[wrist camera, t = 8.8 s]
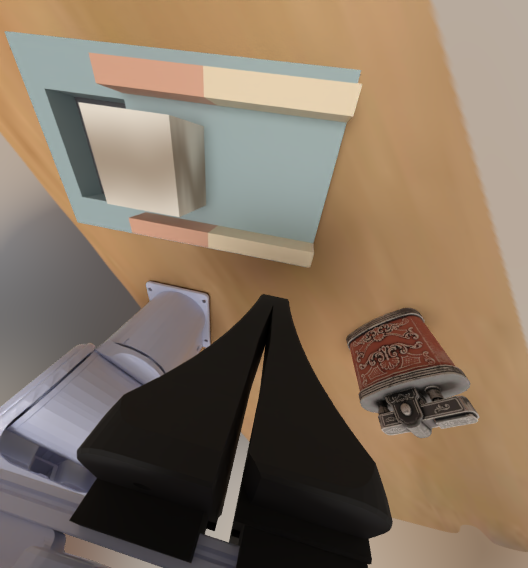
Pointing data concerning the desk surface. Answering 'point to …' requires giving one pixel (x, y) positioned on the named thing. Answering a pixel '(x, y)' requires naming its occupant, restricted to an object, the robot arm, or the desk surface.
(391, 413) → the lighter
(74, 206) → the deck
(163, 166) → the block
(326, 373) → the desk surface
